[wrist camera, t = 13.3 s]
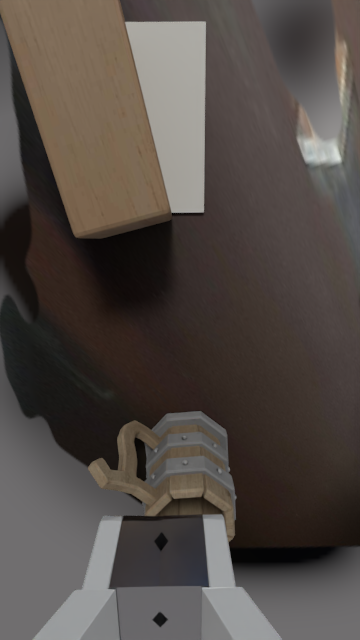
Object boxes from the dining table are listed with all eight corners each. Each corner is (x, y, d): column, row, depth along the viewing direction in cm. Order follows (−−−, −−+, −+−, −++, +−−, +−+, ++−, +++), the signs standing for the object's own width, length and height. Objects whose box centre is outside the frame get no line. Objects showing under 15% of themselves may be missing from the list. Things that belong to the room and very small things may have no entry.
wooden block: (173, 219, 39) (128, 37, 34) (171, 213, 29) (108, -44, 24) (99, 239, 39) (44, 63, 34) (73, 239, 30) (-9, -7, 25)
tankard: (242, 441, 48) (270, 529, 33) (191, 492, 50) (196, 594, 36) (143, 367, 44) (127, 429, 30) (93, 425, 47) (56, 508, 32)
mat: (203, 212, 39) (203, 212, 39) (87, 213, 39) (86, 213, 38) (205, 23, 34) (205, 21, 33) (71, 24, 34) (70, 22, 33)
